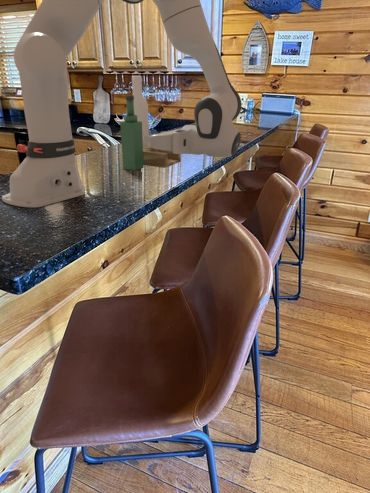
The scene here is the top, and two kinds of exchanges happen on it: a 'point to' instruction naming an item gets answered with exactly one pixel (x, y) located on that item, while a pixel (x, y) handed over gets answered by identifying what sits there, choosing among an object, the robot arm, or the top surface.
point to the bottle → (140, 107)
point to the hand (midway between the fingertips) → (153, 136)
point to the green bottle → (131, 138)
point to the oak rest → (160, 158)
